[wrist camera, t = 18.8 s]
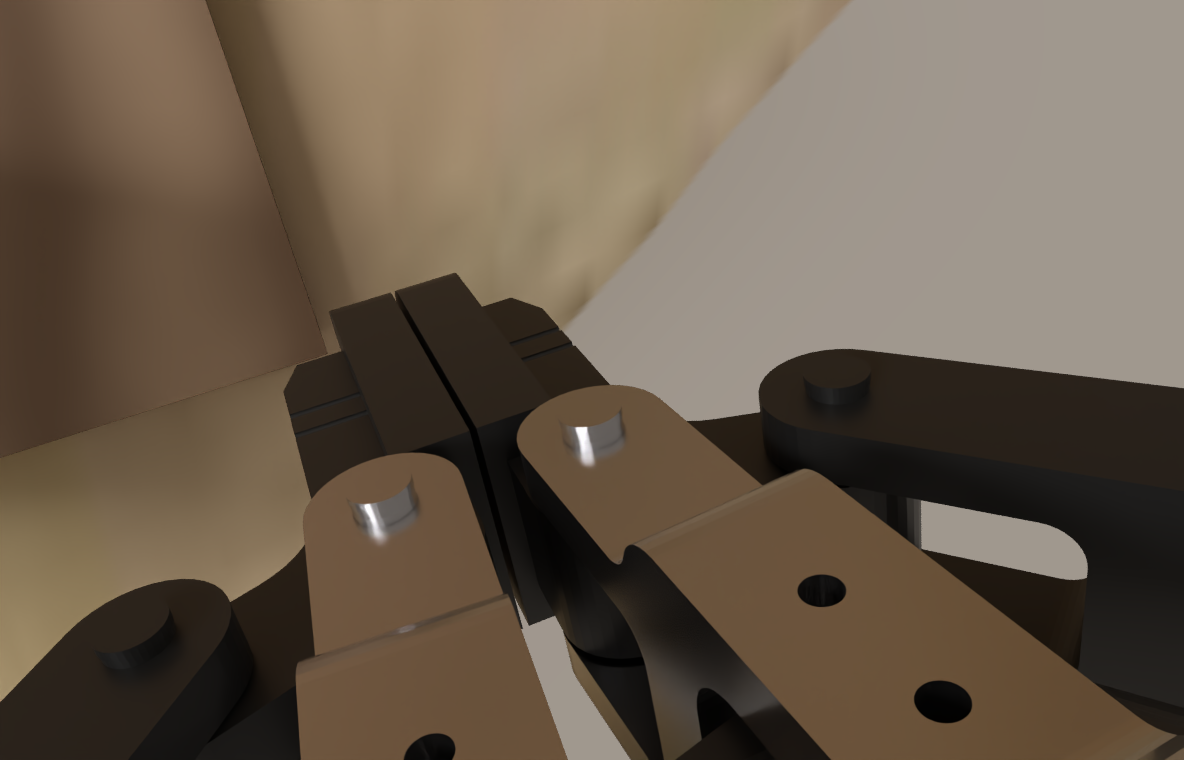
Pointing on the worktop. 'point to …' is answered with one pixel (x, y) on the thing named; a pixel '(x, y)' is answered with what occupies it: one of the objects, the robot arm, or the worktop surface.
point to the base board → (131, 220)
